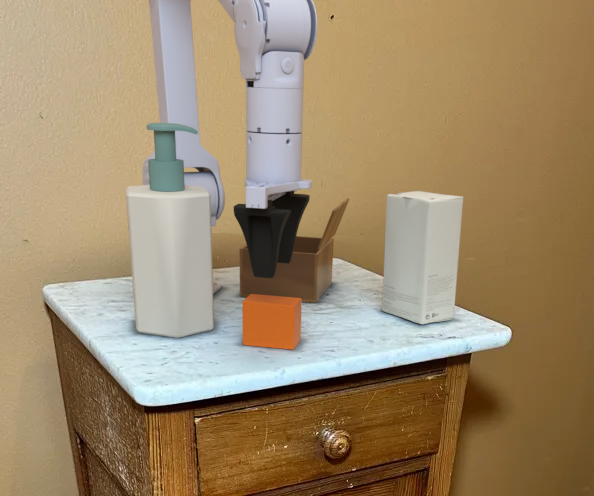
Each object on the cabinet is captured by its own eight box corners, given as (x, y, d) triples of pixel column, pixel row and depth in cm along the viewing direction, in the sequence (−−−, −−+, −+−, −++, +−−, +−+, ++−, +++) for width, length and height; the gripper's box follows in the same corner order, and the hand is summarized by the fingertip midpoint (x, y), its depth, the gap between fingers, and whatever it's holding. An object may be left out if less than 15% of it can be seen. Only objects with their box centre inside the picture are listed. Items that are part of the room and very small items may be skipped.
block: (293, 349, 87) (294, 305, 85) (242, 345, 88) (242, 301, 86) (300, 341, 90) (301, 297, 88) (250, 336, 91) (250, 293, 89)
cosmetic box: (454, 320, 99) (469, 196, 92) (418, 326, 96) (432, 199, 89) (411, 305, 105) (422, 188, 98) (376, 310, 102) (386, 190, 95)
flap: (347, 198, 109) (349, 198, 109) (333, 233, 112) (335, 234, 112) (332, 210, 99) (334, 211, 99) (317, 248, 102) (319, 249, 102)
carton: (261, 277, 117) (261, 233, 114) (331, 283, 115) (333, 238, 112) (239, 296, 107) (239, 248, 104) (316, 303, 105) (318, 254, 102)
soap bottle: (216, 337, 90) (211, 127, 80) (137, 339, 89) (121, 125, 78) (207, 313, 99) (201, 121, 88) (134, 315, 97) (119, 119, 87)
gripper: (297, 138, 71) (293, 287, 78) (326, 129, 84) (321, 258, 90) (224, 135, 73) (226, 281, 79) (263, 127, 85) (262, 254, 92)
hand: (272, 269), depth 85 cm, fingers open, 7 cm apart
